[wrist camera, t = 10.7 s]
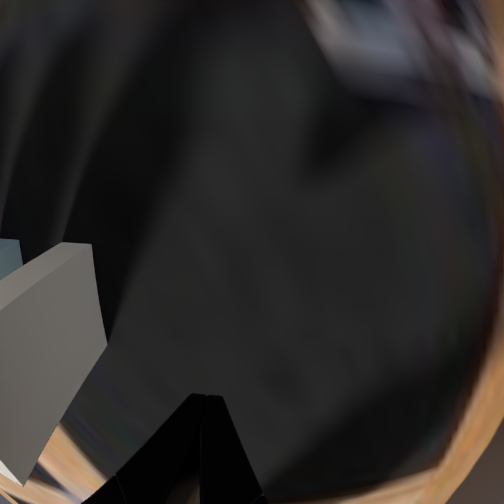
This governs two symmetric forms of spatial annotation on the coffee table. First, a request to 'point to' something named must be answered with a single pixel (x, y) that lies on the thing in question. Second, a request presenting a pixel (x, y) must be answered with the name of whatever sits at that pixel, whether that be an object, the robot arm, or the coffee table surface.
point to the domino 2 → (44, 349)
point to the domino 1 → (9, 257)
